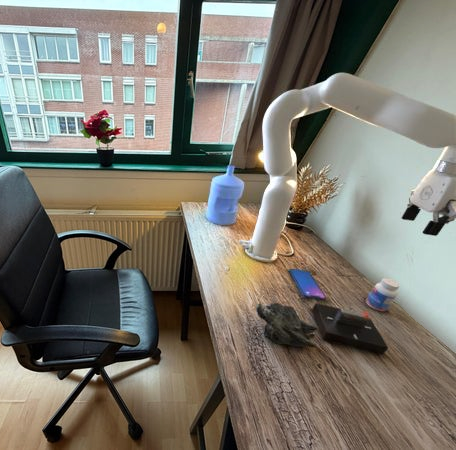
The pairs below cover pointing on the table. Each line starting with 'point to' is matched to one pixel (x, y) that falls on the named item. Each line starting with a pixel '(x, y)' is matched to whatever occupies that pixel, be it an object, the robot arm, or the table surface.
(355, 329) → the plate
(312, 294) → the smartphone
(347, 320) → the tap handle
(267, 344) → the table surface
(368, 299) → the pill bottle
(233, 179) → the water jug
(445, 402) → the table surface
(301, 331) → the mineral specimen
